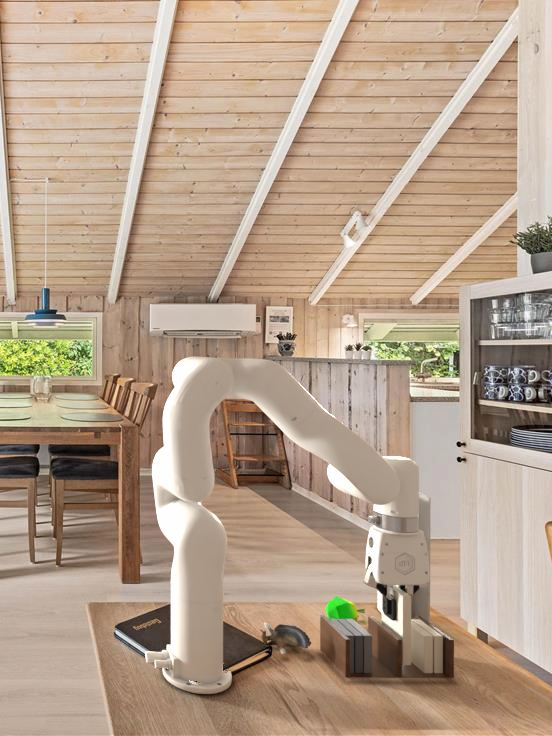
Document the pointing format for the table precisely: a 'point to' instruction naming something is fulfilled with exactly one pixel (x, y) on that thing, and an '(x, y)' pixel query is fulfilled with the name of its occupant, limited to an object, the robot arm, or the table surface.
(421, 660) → the white books
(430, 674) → the book rack
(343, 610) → the apple
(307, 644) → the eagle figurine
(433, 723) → the table surface
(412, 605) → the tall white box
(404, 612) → the white book
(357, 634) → the grey books
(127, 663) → the table surface
